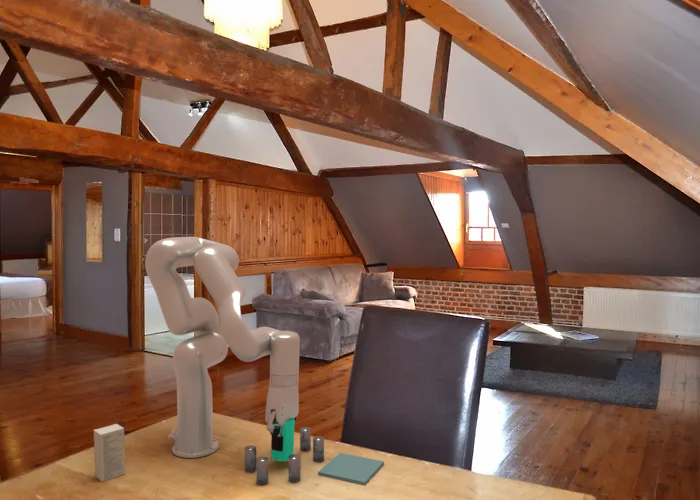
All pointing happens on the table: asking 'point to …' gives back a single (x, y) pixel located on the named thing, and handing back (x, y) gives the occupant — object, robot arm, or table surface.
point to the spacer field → (293, 460)
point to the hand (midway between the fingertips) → (282, 445)
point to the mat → (351, 468)
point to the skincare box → (109, 452)
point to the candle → (285, 442)
